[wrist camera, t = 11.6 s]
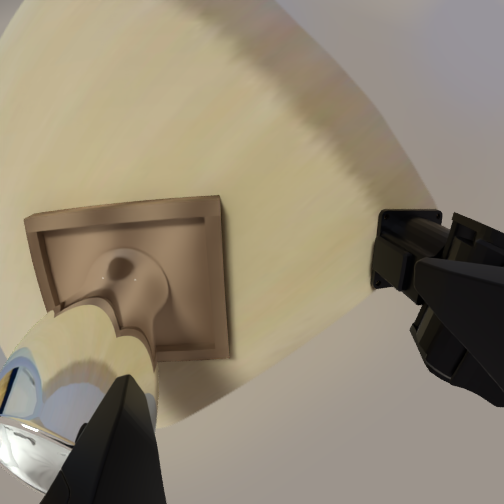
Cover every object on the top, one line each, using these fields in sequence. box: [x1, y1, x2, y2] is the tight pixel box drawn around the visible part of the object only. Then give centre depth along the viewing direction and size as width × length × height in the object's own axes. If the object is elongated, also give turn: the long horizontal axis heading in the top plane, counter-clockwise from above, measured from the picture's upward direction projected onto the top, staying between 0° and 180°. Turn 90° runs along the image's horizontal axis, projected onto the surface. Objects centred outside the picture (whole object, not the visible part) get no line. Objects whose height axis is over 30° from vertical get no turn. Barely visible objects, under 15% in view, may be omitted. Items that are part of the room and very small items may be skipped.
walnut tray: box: [24, 195, 229, 362], centre depth 20 cm, size 14×12×2 cm
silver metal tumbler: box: [0, 248, 169, 496], centre depth 13 cm, size 7×7×15 cm
